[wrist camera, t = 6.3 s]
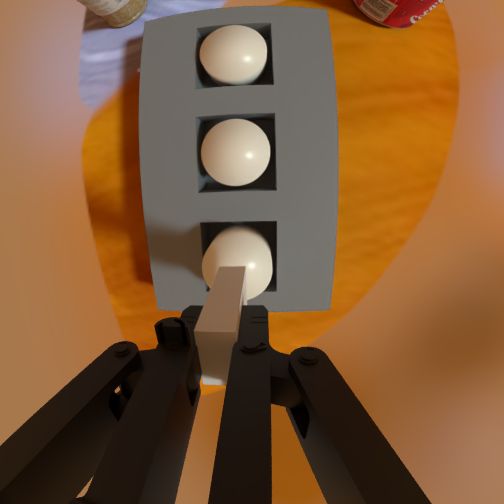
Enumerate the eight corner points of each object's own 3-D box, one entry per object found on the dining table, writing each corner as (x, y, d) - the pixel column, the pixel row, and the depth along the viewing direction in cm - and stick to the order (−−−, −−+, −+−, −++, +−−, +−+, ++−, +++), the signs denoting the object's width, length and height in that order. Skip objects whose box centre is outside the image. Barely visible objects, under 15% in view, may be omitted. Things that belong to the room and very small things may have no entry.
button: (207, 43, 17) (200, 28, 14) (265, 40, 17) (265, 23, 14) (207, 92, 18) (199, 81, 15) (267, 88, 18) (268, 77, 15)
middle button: (208, 126, 19) (200, 121, 17) (268, 124, 19) (269, 117, 16) (210, 184, 21) (202, 187, 18) (269, 182, 21) (271, 185, 18)
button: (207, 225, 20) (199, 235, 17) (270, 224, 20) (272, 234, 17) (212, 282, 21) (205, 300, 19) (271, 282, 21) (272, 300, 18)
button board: (160, 39, 18) (144, 21, 14) (317, 30, 17) (326, 9, 13) (171, 289, 25) (158, 309, 22) (320, 288, 25) (329, 310, 21)
